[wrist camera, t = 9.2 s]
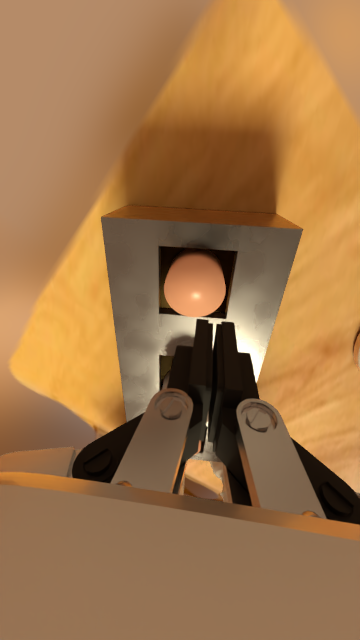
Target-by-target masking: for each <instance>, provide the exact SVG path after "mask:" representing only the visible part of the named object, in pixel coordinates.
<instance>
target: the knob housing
mask: <svg viewBox="0 0 360 640" xmlns="http://www.w3.org/2000/svg"><path fill="white" fill-rule="evenodd" d="M101 222H102V230H103V237H104V245H105V253H106V261H107V269H108V277H109V285H110V293H111V301H112V309H113V317H114V325H115V333H116V341H117V349H118V357H119V365H120V373H121V381H122V389H123V397H124V405H125V413H126V421H127V422H128V421H130V420H132V419H133V418H135V417H137V416H139V415H140V414H142V413H144V412H145V411H146V409H147V407H148V404H149V402H150V400H151V399H152V397H153V396H154V395H155V394H156V393H157V392H159V391H161V390H162V387H161V355H165V356H174V355H175V350H176V346H177V345H183V346H192V347H193V344H194V337H195V329H196V321H197V319H205V320H209V323H213V345H214V338H215V331H216V325H217V324H221V322H222V321H225V322H234V324H235V332H236V339H237V347H238V352H245V353H250V355H251V359H252V364H253V369H254V374H255V379H256V383H257V380H258V376H259V373H260V370H261V366H262V363H263V360H264V357H265V353H266V350H267V347H268V343H269V340H270V337H271V333H272V330H273V327H274V324H275V320H276V317H277V314H278V310H279V307H280V304H281V301H282V297H283V294H284V291H285V287H286V284H287V281H288V277H289V274H290V271H291V268H292V264H293V261H294V258H295V254H296V251H297V248H298V244H299V241H300V238H301V235H302V231H303V229H302V228H300V227H299V226H297V225H295V224H293V223H292V222H290V221H288V220H286V219H285V218H283V217H281V216H279V215H278V214H273V213H256V212H238V211H221V210H204V209H186V208H169V207H151V206H134V205H127V206H125V207H122V208H120V209H118V210H115V211H113V212H111V213H109V214H106V215H104V216H102V217H101ZM161 246H170V247H185V248H200V249H216V250H231V251H235V257H234V263H233V269H232V275H231V281H230V287H229V293H228V299H227V305H226V311H225V312H215V311H214V312H212V313H211V314H208V315H206V316H202V317H188V316H184V315H181V314H179V313H178V312H176V311H175V310H174V309H172V308H164V307H161ZM189 459H195V460H205V461H214V462H222V461H221V460H220V459H219V458H218V457H217V456H216V455H215V452H213V443H212V442H208V422H207V423H206V429H205V435H204V441H201V449H200V451H199V453H197V454H196V455H194V456H192V457H191V458H189Z"/></svg>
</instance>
